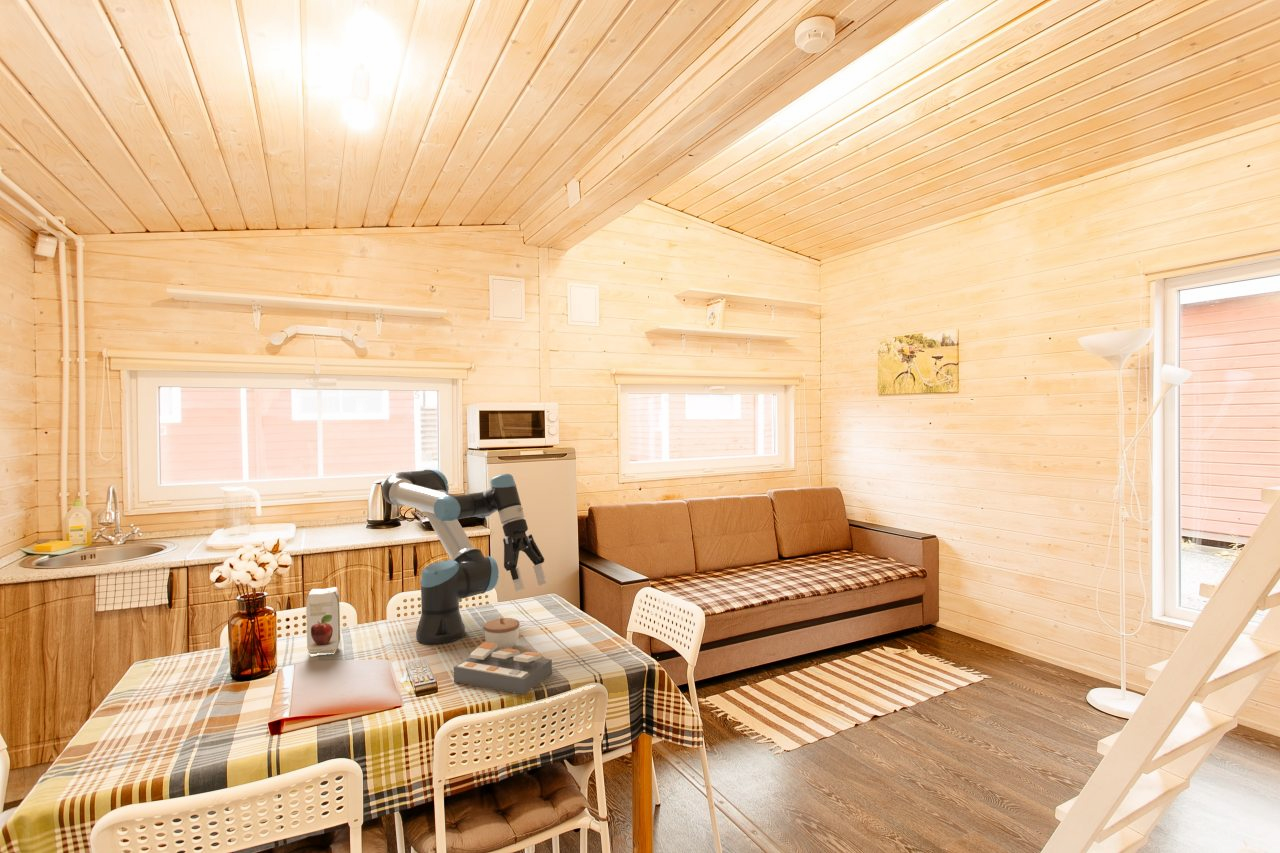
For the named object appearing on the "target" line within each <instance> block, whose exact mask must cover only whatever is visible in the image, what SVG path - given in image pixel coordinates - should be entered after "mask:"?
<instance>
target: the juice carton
mask: <svg viewBox="0 0 1280 853" xmlns="http://www.w3.org/2000/svg"><path fill="white" fill-rule="evenodd" d="M305 606H306V610H305V611H306V612H305V614H306V616H305V617H306V648H307V653H308V654H309V653H310V654H317V653H334V652H336V653H337V650H338V648H339V646H340V642H341V620H340V619H341V618H340V617H341V615H340V611H341V610H340V594H339V590H338V586H333V587H328V588H312V589H311V590H310V591H309V593H308V595H307V597H306V604H305Z"/></svg>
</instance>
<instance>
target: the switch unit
mask: <svg viewBox="0 0 1280 853" xmlns="http://www.w3.org/2000/svg"><path fill="white" fill-rule="evenodd" d="M493 652H496V650H494V651H493ZM493 652H492V653H493ZM492 653H490V654H489V655H488V656H487V657H486V658H485V659H484V660H482V659H476V658H470V657H468V658H467V659H465V660H464V661H462V662H459V663H457V665H455V666H453V682H454V683H458V684H463V685H468V684H469V686H474V687H479V688H480V687H481V688H486V689H491V690H494V691H502V692H506V691H507V692H506V693H511V692H515V693H514V694H517V693H518V695H526V694H527V693H528V692H530V691H531V690H532V689H534V688H535V687H536V686H537V684H538V685H539V684H541V683H542V682H543V681H545V680H546V679H547V678H548V677H550V676H551V675H552V674H553V659H552V658H546V657H541V658H539V659H536V660H534V661H531V662H528V663H527V662H520V661H514V660H513V659H514V656H513V657H510V658H507V659H502V658H496V657H491V655H492ZM520 654H521V653H519V655H520ZM516 656H517V655H516ZM550 674H551V675H550ZM549 675H550V676H549ZM546 677H547V678H546ZM545 678H546V679H545ZM542 680H543V681H542ZM541 681H542V682H541ZM534 686H535V687H534ZM533 687H534V688H533ZM531 688H532V689H531ZM530 689H531V690H530ZM529 690H530V691H529Z"/></svg>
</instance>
